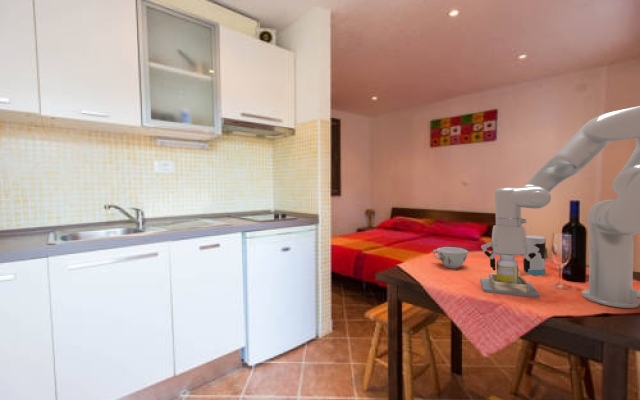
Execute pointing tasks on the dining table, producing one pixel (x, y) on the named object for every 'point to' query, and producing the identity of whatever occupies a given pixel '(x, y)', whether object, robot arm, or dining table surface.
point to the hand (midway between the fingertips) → (509, 270)
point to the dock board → (488, 288)
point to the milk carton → (537, 255)
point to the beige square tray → (509, 284)
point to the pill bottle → (507, 269)
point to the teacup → (451, 256)
